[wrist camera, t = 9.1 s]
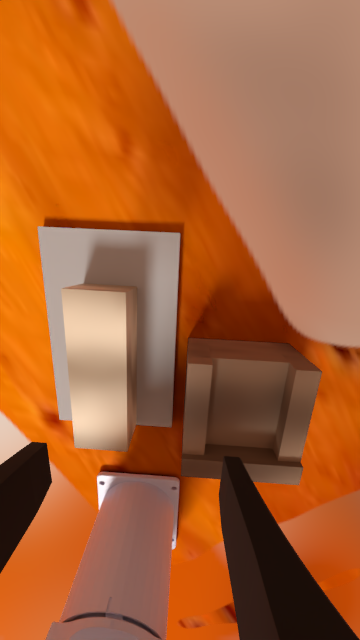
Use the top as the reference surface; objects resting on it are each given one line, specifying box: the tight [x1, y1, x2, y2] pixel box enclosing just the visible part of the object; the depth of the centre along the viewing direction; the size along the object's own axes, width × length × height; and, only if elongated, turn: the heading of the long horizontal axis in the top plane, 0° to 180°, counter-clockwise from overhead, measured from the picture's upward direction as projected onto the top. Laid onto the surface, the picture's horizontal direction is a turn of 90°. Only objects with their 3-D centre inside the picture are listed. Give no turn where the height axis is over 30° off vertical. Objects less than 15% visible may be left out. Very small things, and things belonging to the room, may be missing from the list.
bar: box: [61, 283, 137, 452], centre depth 17 cm, size 12×4×3 cm, turn 177°
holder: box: [181, 338, 322, 485], centre depth 17 cm, size 8×8×5 cm
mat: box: [38, 226, 180, 427], centre depth 18 cm, size 16×10×1 cm, turn 177°
